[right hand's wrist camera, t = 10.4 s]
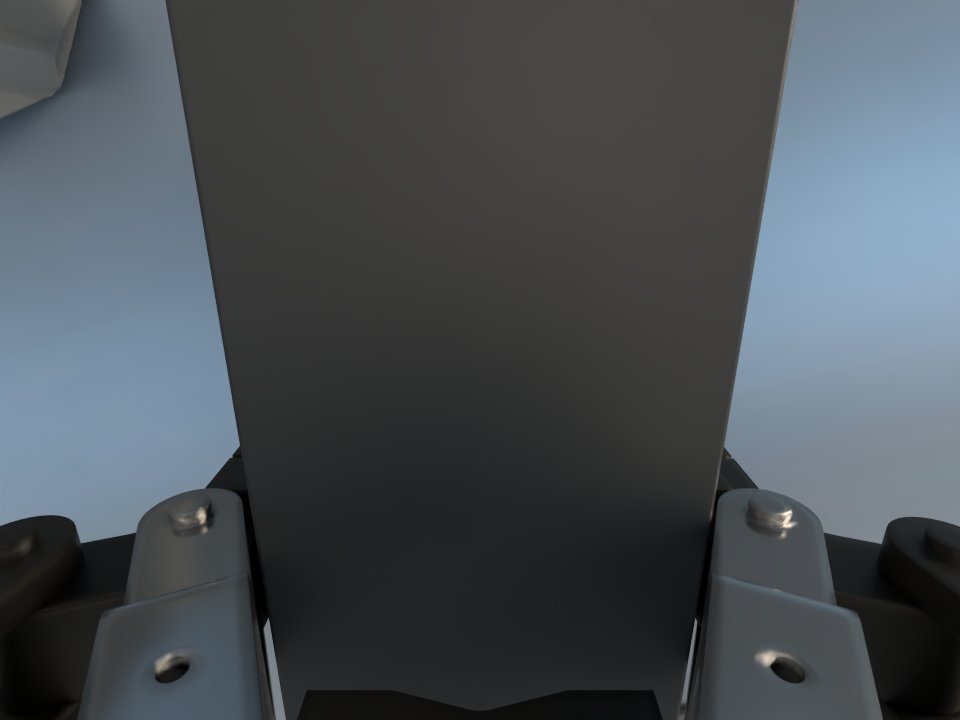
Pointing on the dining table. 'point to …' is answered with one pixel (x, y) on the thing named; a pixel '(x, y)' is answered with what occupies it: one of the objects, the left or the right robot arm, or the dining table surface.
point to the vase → (34, 49)
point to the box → (482, 322)
